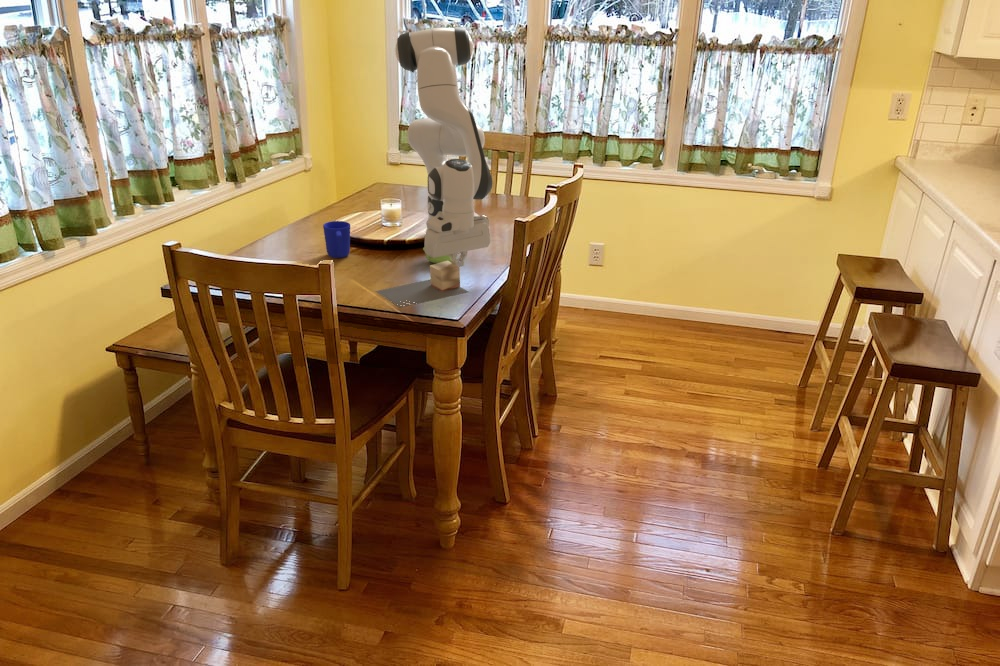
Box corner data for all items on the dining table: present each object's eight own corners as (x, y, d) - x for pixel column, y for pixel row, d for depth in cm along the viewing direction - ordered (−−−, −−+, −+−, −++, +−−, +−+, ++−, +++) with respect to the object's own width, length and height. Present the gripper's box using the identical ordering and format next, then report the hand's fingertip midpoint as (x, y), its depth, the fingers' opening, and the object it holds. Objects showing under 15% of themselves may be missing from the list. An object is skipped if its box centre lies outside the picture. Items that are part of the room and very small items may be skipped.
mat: (442, 278, 235) (442, 276, 235) (468, 293, 225) (468, 291, 225) (375, 292, 224) (375, 291, 223) (399, 309, 213) (399, 307, 213)
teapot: (423, 256, 252) (422, 230, 249) (459, 256, 253) (459, 230, 250) (423, 268, 242) (422, 242, 239) (461, 268, 243) (461, 242, 240)
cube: (448, 279, 232) (447, 260, 229) (460, 286, 228) (459, 266, 225) (431, 285, 229) (429, 265, 226) (442, 291, 224) (441, 271, 222)
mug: (327, 264, 243) (325, 233, 239) (324, 252, 254) (322, 221, 249) (354, 263, 245) (352, 231, 241) (350, 250, 256) (348, 220, 251)
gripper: (482, 211, 230) (481, 257, 236) (421, 222, 219) (421, 269, 225) (495, 216, 226) (494, 263, 232) (433, 228, 215) (433, 276, 221)
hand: (458, 266), depth 228 cm, fingers closed
